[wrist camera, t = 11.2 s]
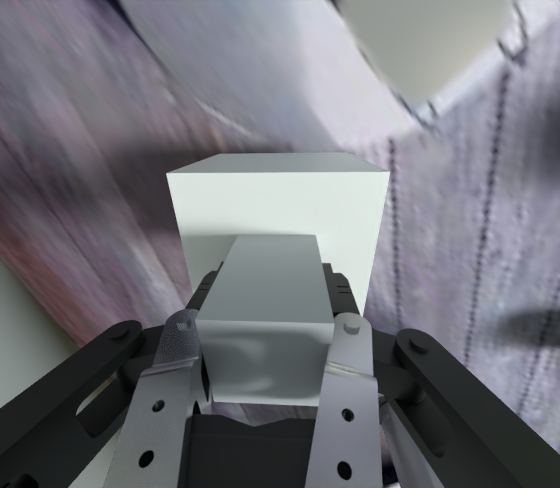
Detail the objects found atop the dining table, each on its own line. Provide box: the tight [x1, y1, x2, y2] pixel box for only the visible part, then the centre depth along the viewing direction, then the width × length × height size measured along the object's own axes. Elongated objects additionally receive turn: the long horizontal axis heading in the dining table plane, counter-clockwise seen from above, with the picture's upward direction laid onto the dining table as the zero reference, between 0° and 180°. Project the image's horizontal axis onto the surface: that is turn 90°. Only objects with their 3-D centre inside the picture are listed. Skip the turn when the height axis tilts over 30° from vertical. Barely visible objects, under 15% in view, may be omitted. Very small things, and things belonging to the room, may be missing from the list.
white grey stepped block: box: [166, 152, 390, 406], centre depth 14 cm, size 10×10×15 cm
